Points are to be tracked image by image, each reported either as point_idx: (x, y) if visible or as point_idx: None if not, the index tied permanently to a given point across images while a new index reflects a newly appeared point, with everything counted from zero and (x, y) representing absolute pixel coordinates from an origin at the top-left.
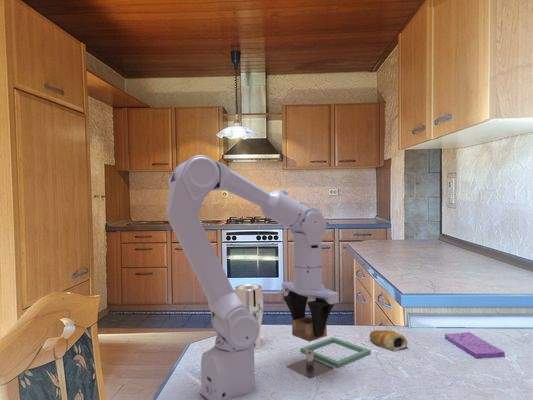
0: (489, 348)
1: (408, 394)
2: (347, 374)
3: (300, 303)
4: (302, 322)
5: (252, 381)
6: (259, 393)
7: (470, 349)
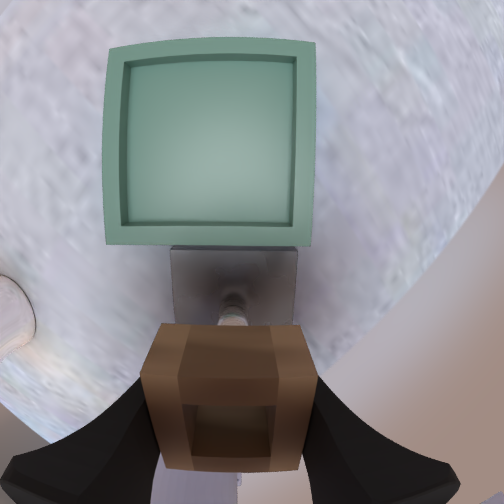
0: None
1: (477, 196)
2: (325, 214)
3: (127, 499)
4: (227, 463)
5: None
6: None
7: None
